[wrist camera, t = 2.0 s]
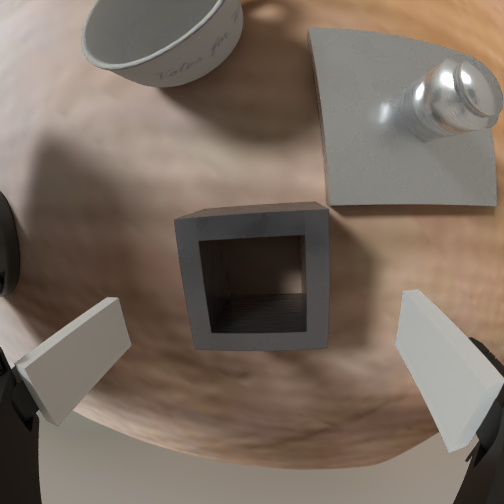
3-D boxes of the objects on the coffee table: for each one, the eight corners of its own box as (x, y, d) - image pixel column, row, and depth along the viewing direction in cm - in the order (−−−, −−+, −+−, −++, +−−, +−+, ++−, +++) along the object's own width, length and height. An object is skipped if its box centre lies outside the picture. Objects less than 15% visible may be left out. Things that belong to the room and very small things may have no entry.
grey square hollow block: (216, 310, 23) (195, 349, 17) (203, 209, 21) (173, 219, 15) (317, 307, 22) (327, 348, 16) (315, 201, 20) (328, 209, 14)
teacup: (196, 121, 19) (149, 91, 11) (110, 75, 19) (54, 49, 11) (295, 4, 15) (296, -55, 8) (199, -27, 15) (173, -74, 7)
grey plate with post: (326, 203, 19) (361, 221, 10) (307, 36, 16) (316, -39, 7) (486, 204, 17) (559, 221, 8) (466, 62, 14) (523, 30, 5)
